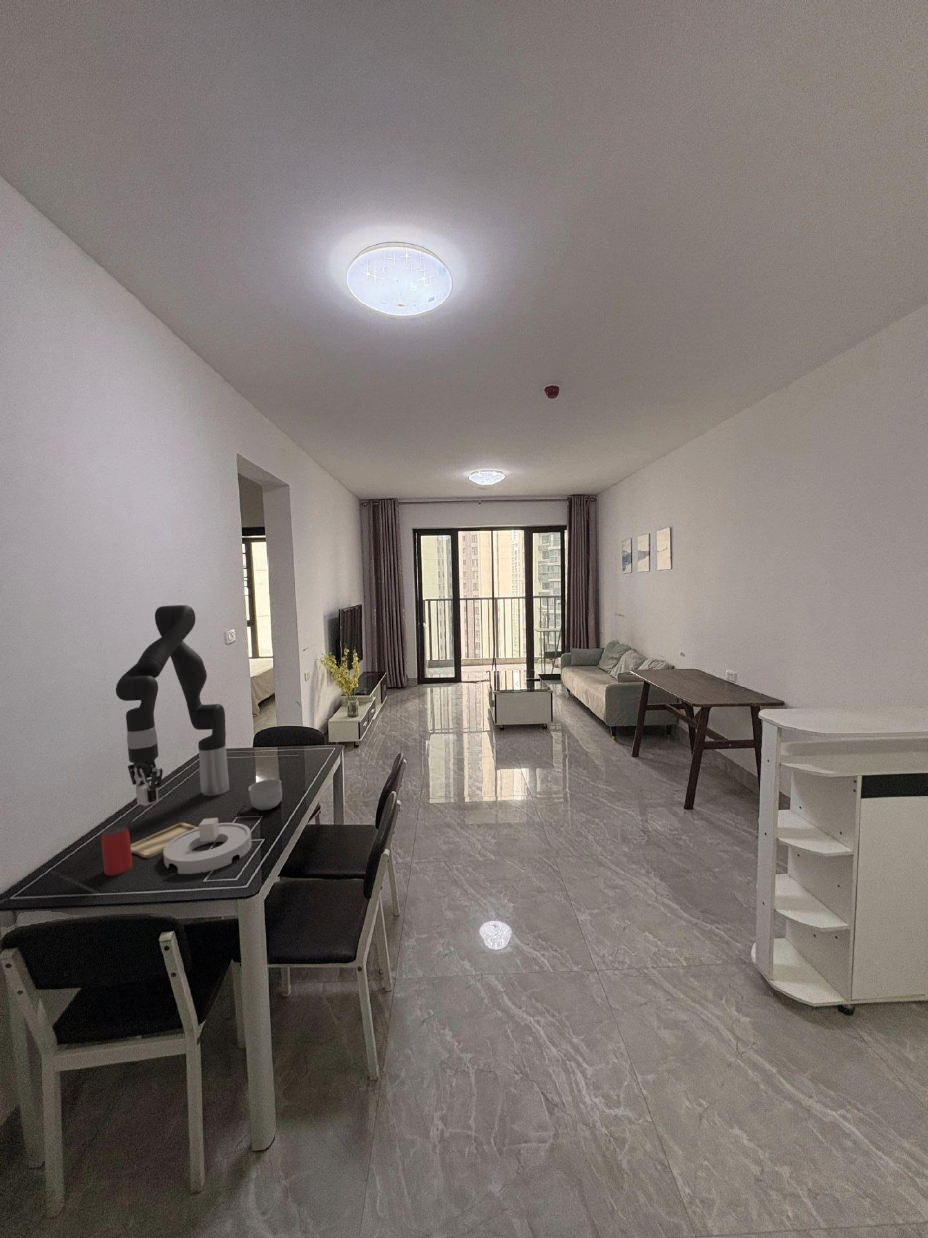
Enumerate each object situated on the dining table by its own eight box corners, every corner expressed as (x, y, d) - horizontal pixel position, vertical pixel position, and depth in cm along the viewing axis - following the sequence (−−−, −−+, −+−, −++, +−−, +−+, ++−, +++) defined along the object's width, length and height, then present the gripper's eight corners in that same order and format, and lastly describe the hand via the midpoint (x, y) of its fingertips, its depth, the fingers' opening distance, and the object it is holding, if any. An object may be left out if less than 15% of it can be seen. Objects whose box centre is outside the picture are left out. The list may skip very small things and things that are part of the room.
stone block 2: (200, 841, 159) (198, 825, 159) (205, 835, 163) (204, 818, 163) (214, 840, 160) (213, 823, 159) (219, 834, 164) (218, 817, 163)
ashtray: (155, 882, 146) (154, 868, 145) (173, 843, 168) (172, 830, 167) (248, 865, 152) (247, 851, 152) (254, 829, 174) (253, 817, 174)
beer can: (113, 865, 155) (108, 824, 154) (137, 863, 155) (133, 822, 154) (99, 878, 148) (95, 835, 147) (125, 876, 149) (120, 833, 148)
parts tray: (124, 851, 163) (124, 847, 163) (182, 826, 178) (181, 822, 178) (148, 860, 157) (147, 856, 157) (205, 833, 172) (204, 829, 172)
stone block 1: (137, 803, 162) (135, 787, 161) (150, 798, 165) (149, 782, 165) (145, 806, 160) (143, 789, 159) (158, 800, 163) (157, 784, 163)
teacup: (272, 814, 185) (270, 791, 184) (243, 812, 187) (241, 790, 186) (293, 797, 198) (291, 775, 198) (266, 796, 200) (264, 775, 200)
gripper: (115, 744, 161) (121, 801, 162) (144, 750, 154) (149, 809, 156) (141, 737, 168) (146, 792, 169) (169, 742, 161) (174, 799, 162)
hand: (148, 800), depth 162 cm, fingers closed on stone block 1, 4 cm apart
